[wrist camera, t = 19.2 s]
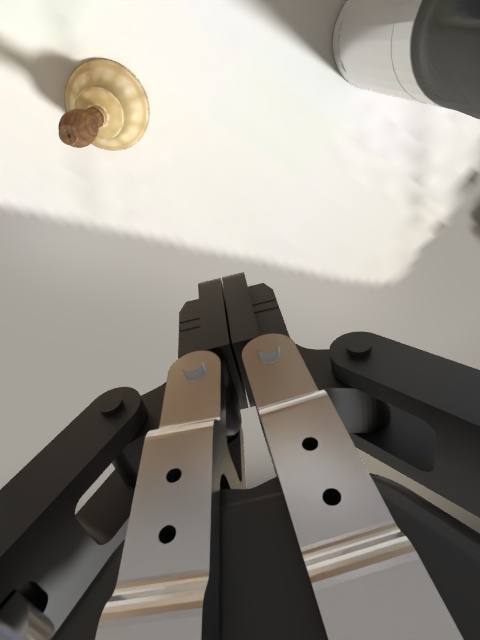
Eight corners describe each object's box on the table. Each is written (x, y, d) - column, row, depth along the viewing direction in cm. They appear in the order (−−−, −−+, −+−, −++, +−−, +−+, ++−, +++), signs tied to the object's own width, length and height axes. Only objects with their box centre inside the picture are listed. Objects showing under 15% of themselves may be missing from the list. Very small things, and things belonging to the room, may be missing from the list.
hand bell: (115, 166, 45) (85, 215, 32) (48, 105, 41) (-18, 132, 28) (166, 108, 42) (156, 135, 29) (99, 37, 38) (53, 31, 25)
